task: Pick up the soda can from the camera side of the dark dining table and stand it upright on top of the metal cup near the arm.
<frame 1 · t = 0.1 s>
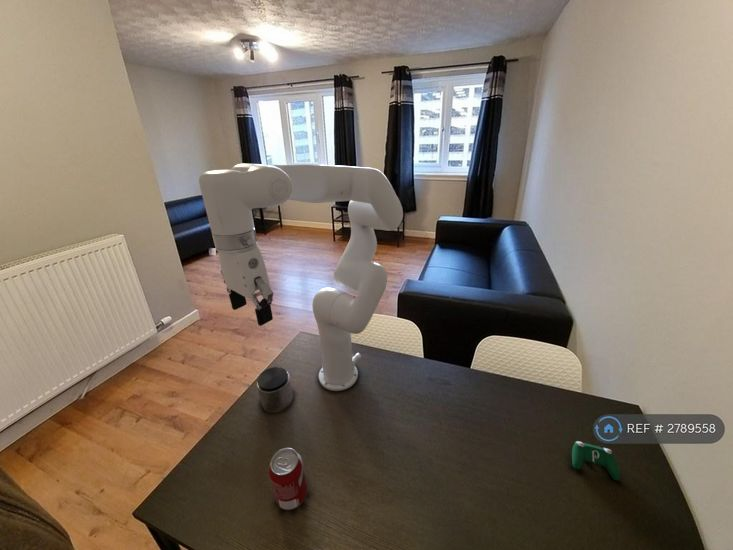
hand: (252, 314, 65), 37 cm above the table, tool pointing down, fingers open, 9 cm apart
soda can: (292, 495, 67), on the table
metal cup: (277, 399, 90), on the table
gaming controller: (591, 464, 71), on the table
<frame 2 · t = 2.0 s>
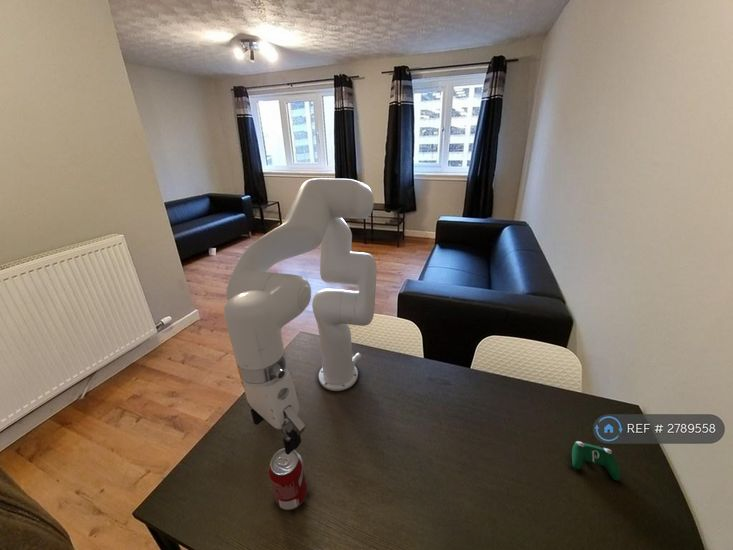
hand: (277, 433, 57), 21 cm above the table, tool pointing down, fingers open, 9 cm apart
nothing on the table moved.
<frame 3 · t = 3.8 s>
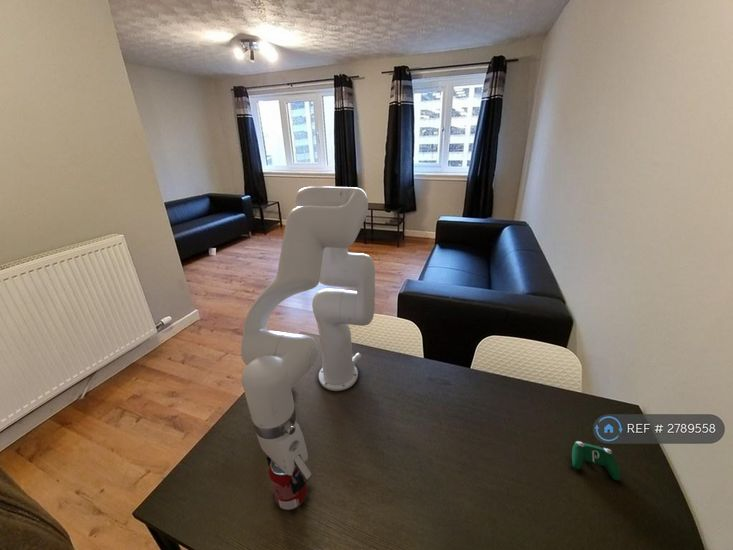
hand: (287, 475, 63), 7 cm above the table, tool pointing down, fingers closed on soda can, 6 cm apart
soda can: (292, 495, 67), on the table, touching gripper
everything else where it was.
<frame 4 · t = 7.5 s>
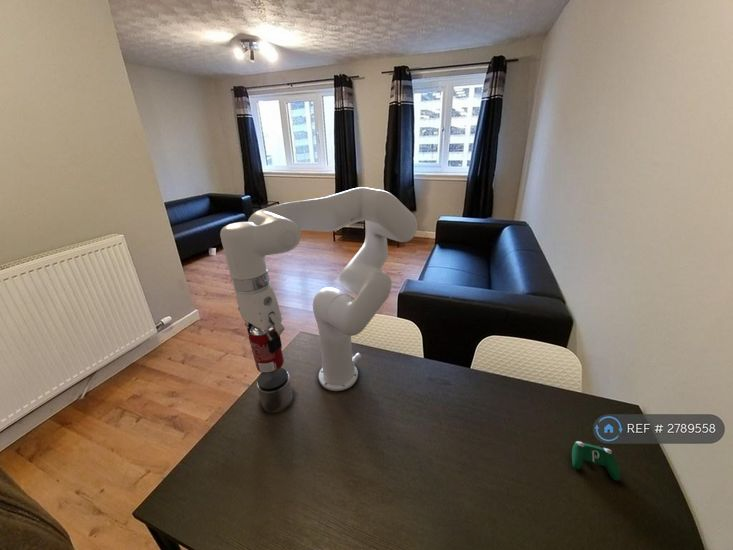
hand: (265, 343, 74), 25 cm above the table, tool pointing down, fingers closed on soda can, 6 cm apart
soda can: (271, 366, 77), point 18 cm above the table, touching gripper
everything else where it was.
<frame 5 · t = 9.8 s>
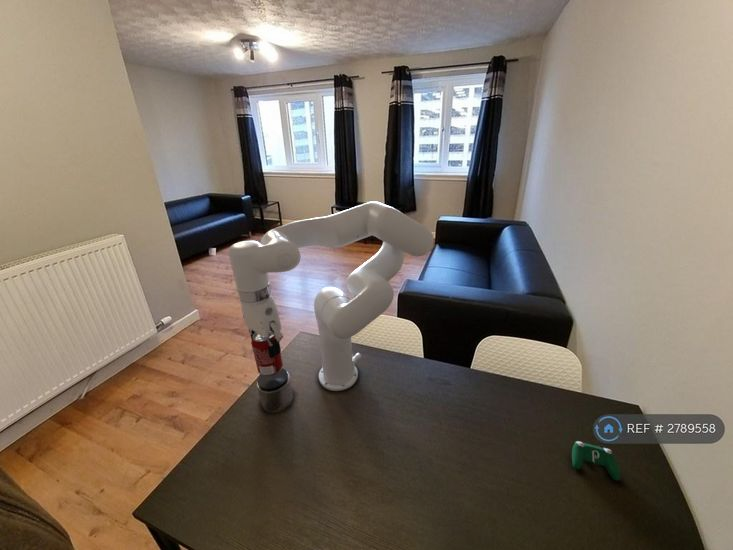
hand: (266, 348, 81), 19 cm above the table, tool pointing down, fingers closed on soda can, 6 cm apart
soda can: (270, 369, 85), point 12 cm above the table, touching gripper
everything else where it was.
when the fingers open (16 cm above the table, at t = 11.3 s): soda can stays where it is, resting on metal cup.
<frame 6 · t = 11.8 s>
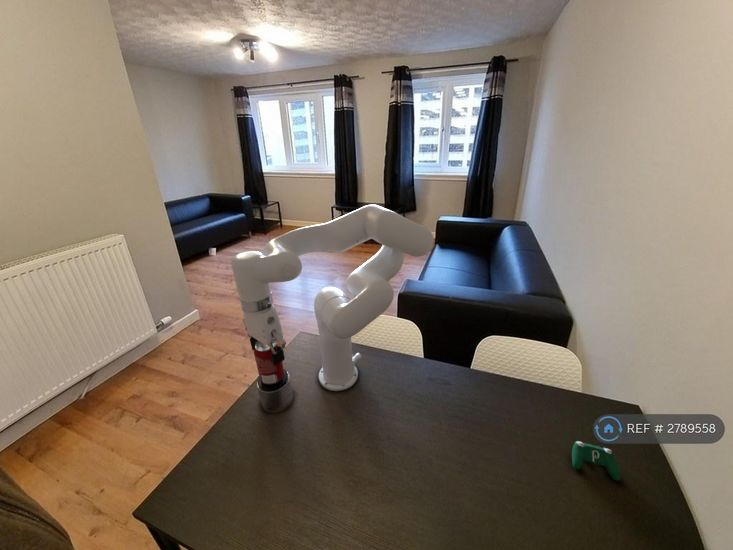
hand: (268, 354, 82), 17 cm above the table, tool pointing down, fingers open, 9 cm apart
soda can: (272, 377, 86), point 9 cm above the table, touching metal cup
metal cup: (277, 399, 90), on the table, touching soda can
everything else where it was.
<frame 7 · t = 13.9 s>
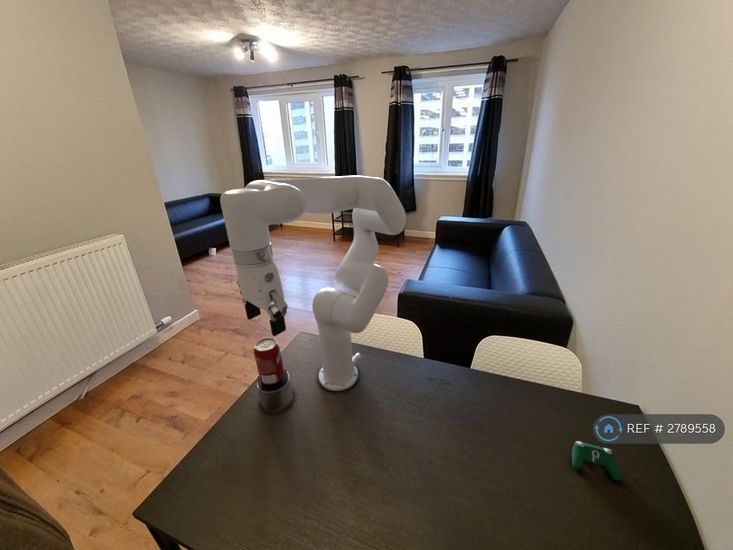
hand: (266, 324, 68), 33 cm above the table, tool pointing down, fingers open, 9 cm apart
nothing on the table moved.
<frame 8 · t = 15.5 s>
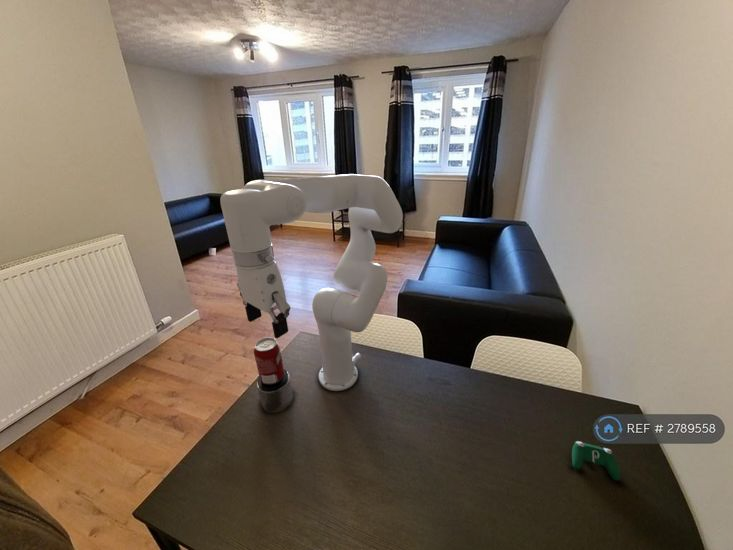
hand: (267, 326, 67), 33 cm above the table, tool pointing down, fingers open, 9 cm apart
nothing on the table moved.
at the end: soda can 0.0 cm off-centre on the metal cup, point 8.8 cm above the metal cup's base; soda can tilted 0°; metal cup moved 0.0 cm from its start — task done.
